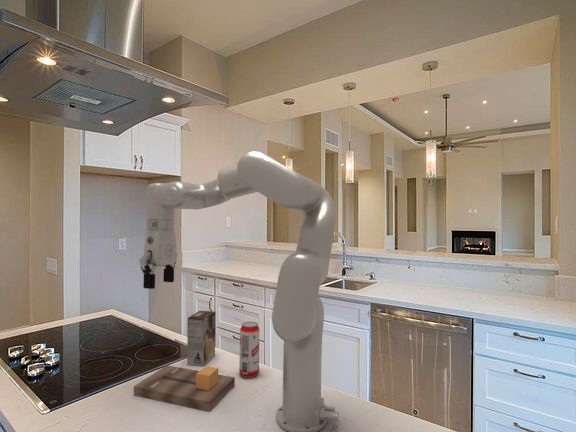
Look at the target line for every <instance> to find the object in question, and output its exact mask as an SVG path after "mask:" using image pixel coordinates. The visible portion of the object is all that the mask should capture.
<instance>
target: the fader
mask: <svg viewBox="0 0 576 432" xmlns="http://www.w3.org/2000/svg"><path fill="white" fill-rule="evenodd" d="M198 371H199V372H198V373H196V388H198V389H203V390H208V391H209V390H210V389H211V388H212V387H213V386H214V385H216V384H217V383H218V374H219V367H214V366H210V365H205V366H203V368H201V370H198Z"/></svg>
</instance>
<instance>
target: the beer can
mask: <svg viewBox="0 0 576 432" xmlns="http://www.w3.org/2000/svg"><path fill="white" fill-rule="evenodd" d="M260 332H261V330H260V327H259V324H258V322H257V321H245V322H242V323H241V327H240V329H239V367H238V368H239V369H238V370H239V374H240V376H241V377H242V378H245V379H253V378H255V377H257V375H258V374H259V373H260V336H261V335H260V334H261V333H260Z"/></svg>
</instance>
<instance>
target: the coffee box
mask: <svg viewBox="0 0 576 432" xmlns="http://www.w3.org/2000/svg"><path fill="white" fill-rule="evenodd" d="M186 340H187V342H186V344H187V345H186V347H187V349H186V350H187V353H186V359H187V362H186V363H187V365H188V366H198V367H205V366H207V364H208V363H209V362H210V361H211V360H212V359H213V358H215V356H216V311H213V310H211V311H209V310H198V311H197V312H196V313H193V314H192V315H190V316H188V317H187V339H186Z"/></svg>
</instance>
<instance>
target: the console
mask: <svg viewBox="0 0 576 432" xmlns="http://www.w3.org/2000/svg"><path fill="white" fill-rule="evenodd" d="M199 371H200V370H195V369H190V368H185V367H178V366H174V365H173V366H172V365H165V366H164V367H162V368H161V369H158V370H157V371H155V372H154V373H153V374H151V375H149V376H148V377H146V378H145V379H143V380H142V381H141V380H140V381H139V382H138V383H136V384H135V385H134V386H133V396H136V397H141V398H146V399H147V400H149V399H150V400H153V401H159V402H162V403H168V404H172V405H176V406H181V407H186V408H188V409H189V408H190V409H194V410H198V411H204V412H208V413H210V412H211V411H212V410H213V409H214V408H215V407H216V406H217V405H218V404H219V403H220V402H221V401H222V400H223V399H224V398H225V397H226V395H227V394H228V393H230V391H231V390H232V389H233V388H234V387H235V386H236V384H235V382H236V377H235V376H230V375H223V374H219V373H218V383H217V384H216V385H214V386H213V387H212V388H211V389H210V390H209V391H208V390H203V389H198V388H196V373H198V372H199Z"/></svg>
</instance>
